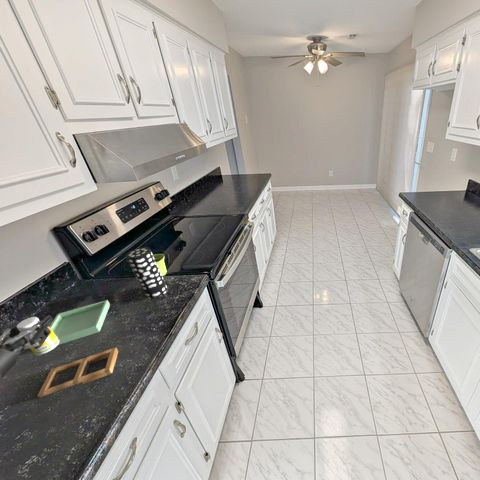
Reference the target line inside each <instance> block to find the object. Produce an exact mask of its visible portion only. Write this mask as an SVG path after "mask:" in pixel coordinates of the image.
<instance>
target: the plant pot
mask: <svg viewBox="0 0 480 480" xmlns="http://www.w3.org/2000/svg"><path fill="white" fill-rule="evenodd" d="M153 256H154V259H155V261H156V263H157V266H158V268H159V270H160V272H161V275H162V277H164V276H166V275H167V273H168V272H167V267H166V263H165V255H164V254H163V253H156V254H153Z"/></svg>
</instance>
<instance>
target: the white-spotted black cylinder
mask: <svg viewBox="0 0 480 480" xmlns="http://www.w3.org/2000/svg"><path fill="white" fill-rule="evenodd" d="M153 255H154V254H153V252H152V249H151V248H150V247H147V246H144V247H139V248H135V249H133V250H131V251H129V252H127V253H126V254H125V258H126V260H127V262H128V264H129V266H130V268H131V270H132V272H133V275H134V277H135V278H136V280H137V282H138V284H139V287H140V288H141V291H142V292H143V294H144V296H145V298H146V299H148V300H152V299H156V298H160V297H162V296H164V295H165V294H166V293H167V291H168V290H169V289H168V286H167V283H166V281H165V279H164V276H162V275H161V272H160V270H159V268H158V266H157V263H156V261H155V259H154V256H153Z"/></svg>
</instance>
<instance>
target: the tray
mask: <svg viewBox="0 0 480 480" xmlns="http://www.w3.org/2000/svg"><path fill="white" fill-rule="evenodd" d="M110 306H111V303H110V301H109V300H108V299H105V300H102V301H98V302H95V303H91V304H88V305H84V306H81V307H77V308H74V309H70V310H67V311H64V312H60V313H57V314H56V316H55V318H53V320H54V321H53V322H52V323H51V324H50V325H49V327H50V328H51V330H52V331H53V332H54V334H55V335H56V336H57V337H58V339H59V344H58V345H57V346H59V345H63V344H66V343H70V342H72V341H76V340H78V339H82V338H84V337H87V336H91V335H94V334H98V333H100V332H101V330H102V327H103V325H104V322H105V319H106V318H107V317H106V316H107V314H108V312H109V309H110Z"/></svg>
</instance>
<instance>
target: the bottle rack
mask: <svg viewBox="0 0 480 480" xmlns="http://www.w3.org/2000/svg"><path fill="white" fill-rule="evenodd" d="M118 353H119V350H118V348H117V347H112V348H109V349H107V350H103V351H101V352H97V353H95V354H92V355H88V356H87V357H86V356H85V357H83V358H80V359H78V360H74V361H72V362H68V363H65V364H62V365H60V366H57V367H54V368H51V369H50V371H49V372H48V375H47V377H46V379H44V382H43V384H42V386H41V388H40V390H39V392H38V393H37V397H38V398H39V399H40V398H43V397H46V396H48V395H51V394H53V393H57V392H58V391H61V390H64V389H67V388H70V387H72V386H75V385H78V384H80V383H81V386H83V385H86V384H89V383H91V382H93V381H96V380H99V379H101V378H104V377H107V376H110V375H113V372H114V368H115V365H116V361H117V359H118ZM105 359H107V362H106V363H105V364H106V365H105V367H104V368H102V369H99V370H96V371H93V372H90V373H88V374H85V375H83V374H84V371H85V369H86V367H87V365H88V363H89V364H90V365H92V364H93V363H96V362H100V361H102V360H105ZM77 366H78V368H77V370H76V373H75V375H74V377H73V379H70V380H68V381H65V382H63V383H60V384H57V385H55V386H51V384H52V382H53V381H54V379H55V376H56V374H57V373H59V372H62V371H66V370H68V369H71V368H74V367H77ZM50 386H51V387H50Z"/></svg>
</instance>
